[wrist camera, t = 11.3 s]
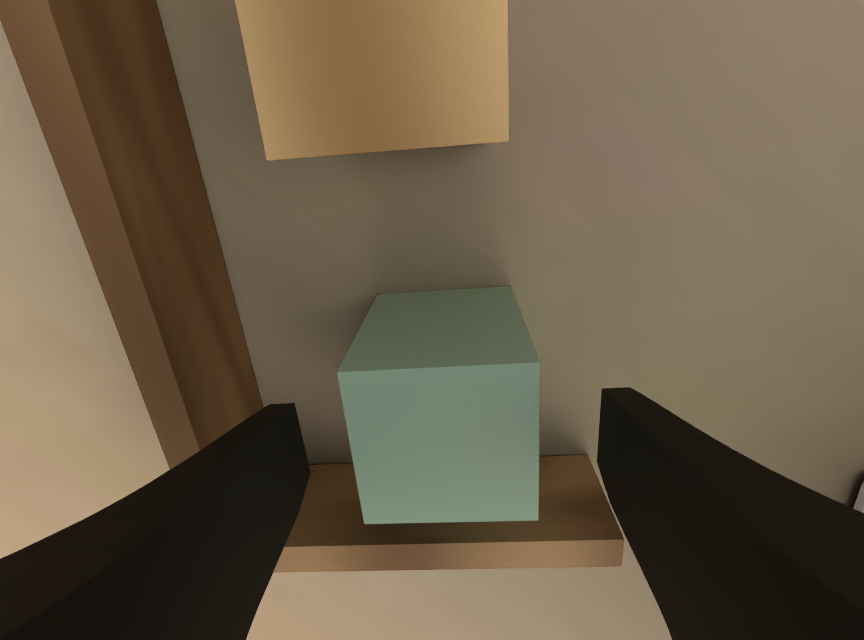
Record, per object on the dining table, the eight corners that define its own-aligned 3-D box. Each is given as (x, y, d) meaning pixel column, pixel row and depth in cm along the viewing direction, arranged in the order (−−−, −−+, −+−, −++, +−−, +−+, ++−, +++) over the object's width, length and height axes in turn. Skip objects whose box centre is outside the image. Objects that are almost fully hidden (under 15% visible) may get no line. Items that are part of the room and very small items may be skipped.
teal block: (510, 285, 13) (539, 362, 8) (512, 401, 15) (538, 520, 10) (377, 293, 13) (336, 372, 9) (392, 405, 15) (364, 524, 10)
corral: (630, -301, 9) (739, -576, 5) (586, 477, 15) (621, 566, 12) (55, -207, 9) (-156, -394, 6) (257, 488, 16) (209, 573, 13)
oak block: (482, -43, 10) (505, -199, 6) (487, 143, 12) (508, 141, 7) (314, -24, 10) (203, -158, 6) (339, 154, 12) (267, 160, 7)
